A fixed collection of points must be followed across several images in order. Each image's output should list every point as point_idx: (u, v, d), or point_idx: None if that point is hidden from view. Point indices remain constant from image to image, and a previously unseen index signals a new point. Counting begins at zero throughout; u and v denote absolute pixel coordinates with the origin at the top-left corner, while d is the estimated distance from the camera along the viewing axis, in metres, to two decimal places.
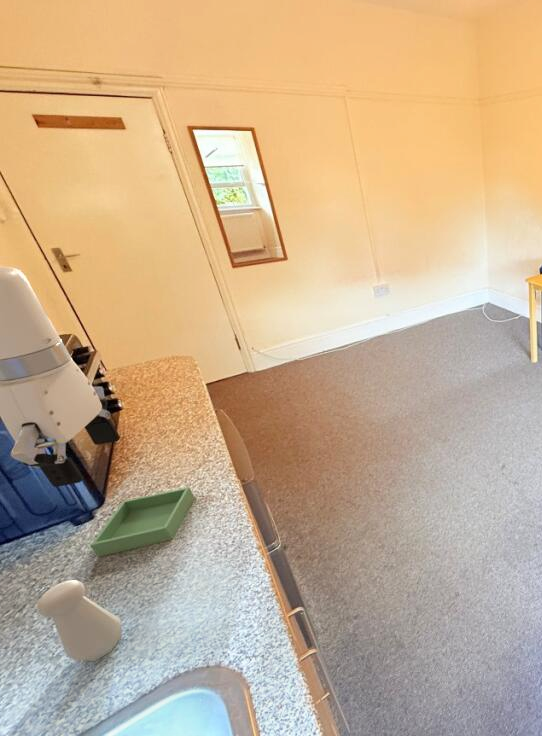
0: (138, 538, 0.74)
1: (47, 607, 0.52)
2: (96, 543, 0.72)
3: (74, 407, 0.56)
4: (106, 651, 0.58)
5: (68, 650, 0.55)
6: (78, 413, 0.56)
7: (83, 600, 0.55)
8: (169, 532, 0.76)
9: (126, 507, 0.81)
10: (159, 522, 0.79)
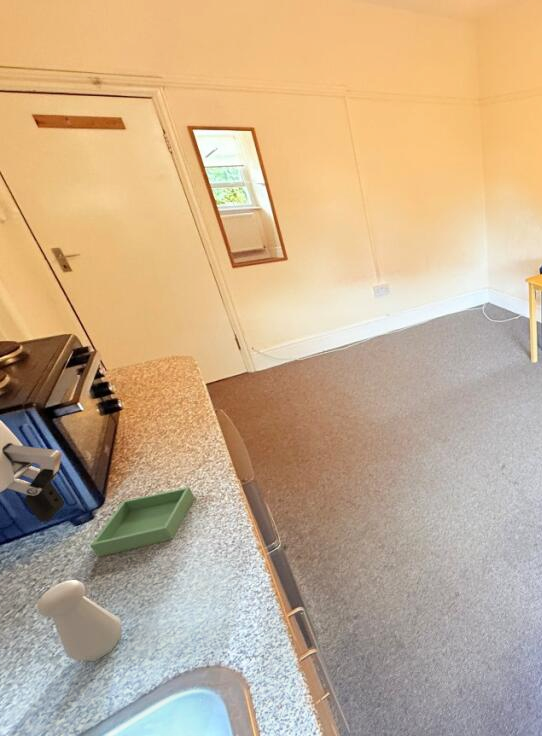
0: (138, 538, 0.74)
1: (48, 607, 0.52)
2: (96, 543, 0.72)
3: None
4: (106, 651, 0.58)
5: (68, 650, 0.55)
6: None
7: (83, 600, 0.55)
8: (169, 532, 0.76)
9: (126, 507, 0.81)
10: (159, 522, 0.79)
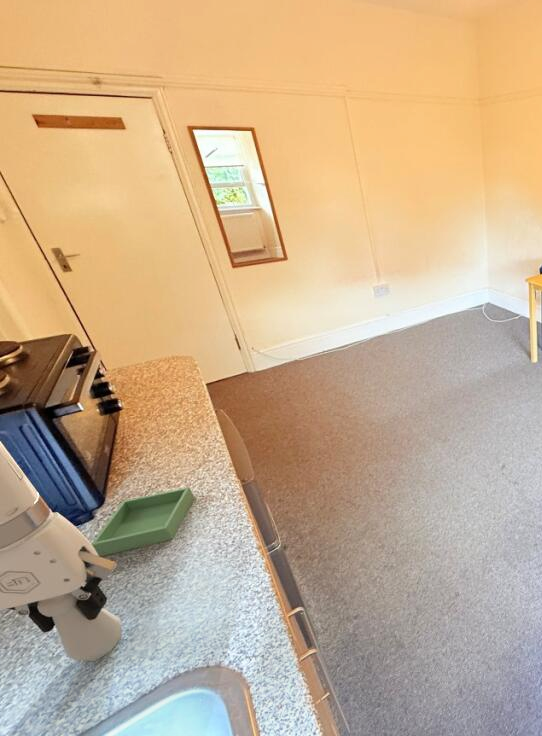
0: (138, 538, 0.74)
1: (48, 607, 0.52)
2: (96, 543, 0.72)
3: None
4: (106, 651, 0.58)
5: (68, 650, 0.55)
6: None
7: None
8: (169, 532, 0.76)
9: (126, 507, 0.81)
10: (159, 522, 0.79)
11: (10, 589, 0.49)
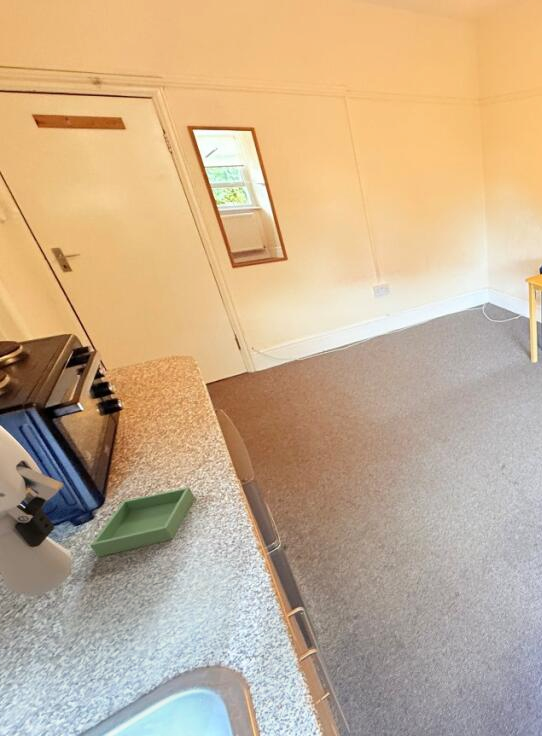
0: (138, 538, 0.74)
1: None
2: (96, 543, 0.72)
3: None
4: (52, 585, 0.52)
5: (7, 581, 0.49)
6: None
7: None
8: (169, 532, 0.76)
9: (126, 507, 0.81)
10: (159, 522, 0.79)
11: None
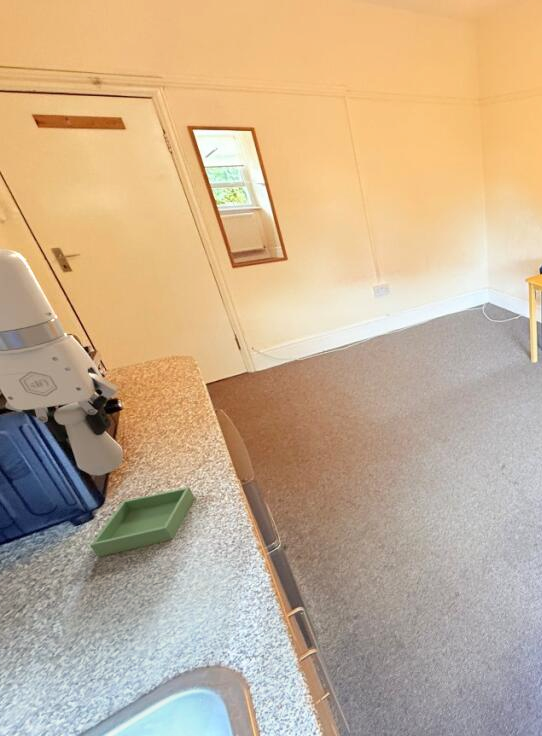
0: (138, 538, 0.74)
1: (62, 415, 0.63)
2: (96, 543, 0.72)
3: None
4: (110, 468, 0.69)
5: (78, 460, 0.66)
6: None
7: None
8: (169, 532, 0.76)
9: (126, 507, 0.81)
10: (159, 522, 0.79)
11: (33, 390, 0.60)
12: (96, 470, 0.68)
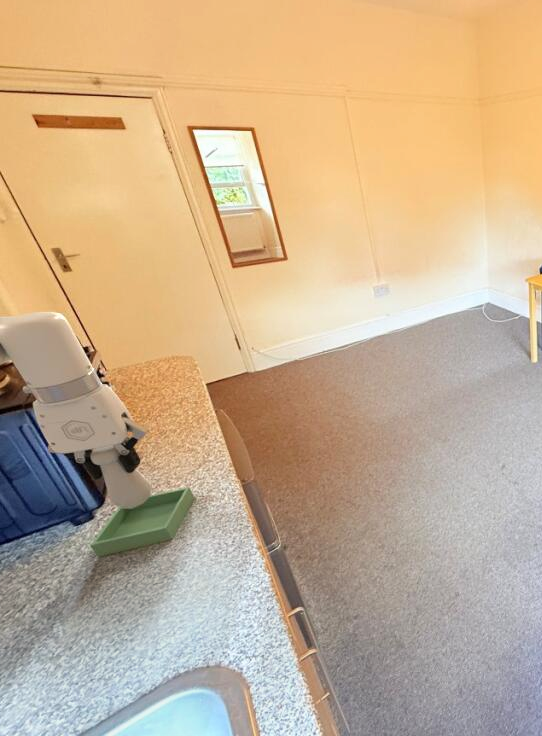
0: (138, 538, 0.74)
1: (98, 456, 0.69)
2: (96, 543, 0.72)
3: None
4: (139, 502, 0.75)
5: (112, 496, 0.73)
6: None
7: None
8: (169, 532, 0.76)
9: None
10: (159, 522, 0.79)
11: (73, 436, 0.66)
12: (127, 504, 0.74)
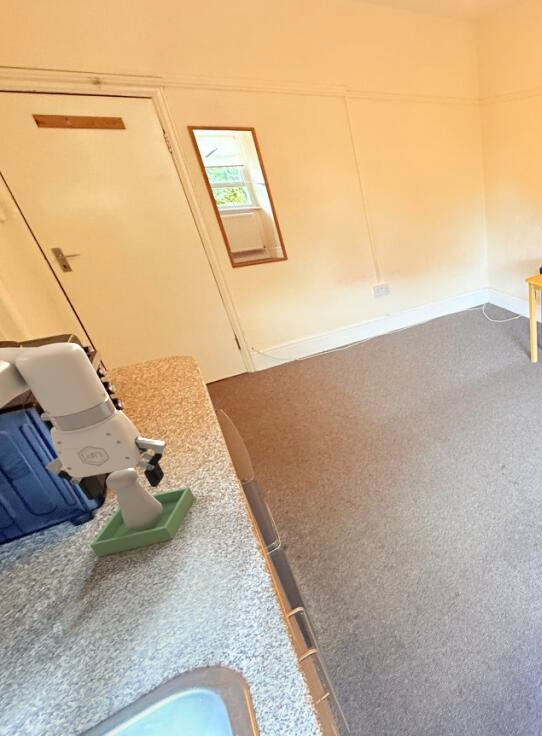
0: (138, 538, 0.74)
1: (113, 482, 0.72)
2: (96, 543, 0.72)
3: None
4: (152, 524, 0.78)
5: (126, 519, 0.75)
6: None
7: (137, 483, 0.75)
8: (169, 532, 0.76)
9: None
10: (159, 522, 0.79)
11: (88, 461, 0.68)
12: (141, 527, 0.76)
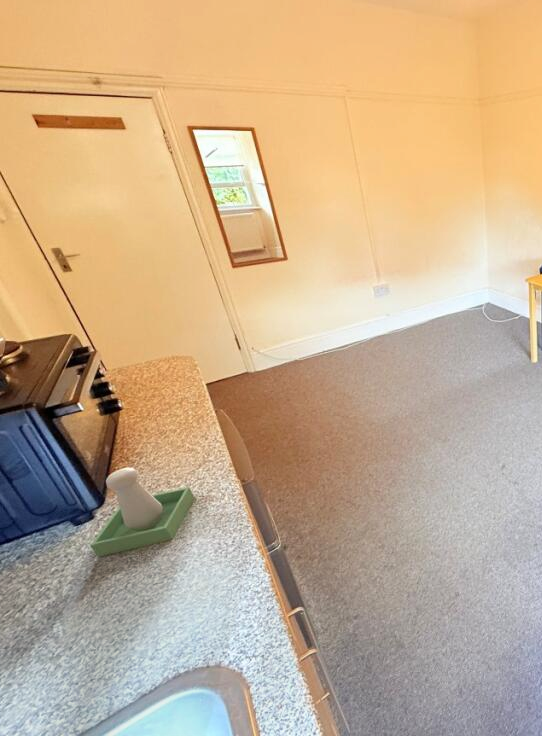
0: (138, 538, 0.74)
1: (113, 482, 0.72)
2: (96, 543, 0.72)
3: None
4: (152, 524, 0.78)
5: (126, 519, 0.75)
6: None
7: (137, 483, 0.75)
8: (169, 532, 0.76)
9: None
10: (159, 522, 0.79)
11: None
12: (141, 527, 0.76)
